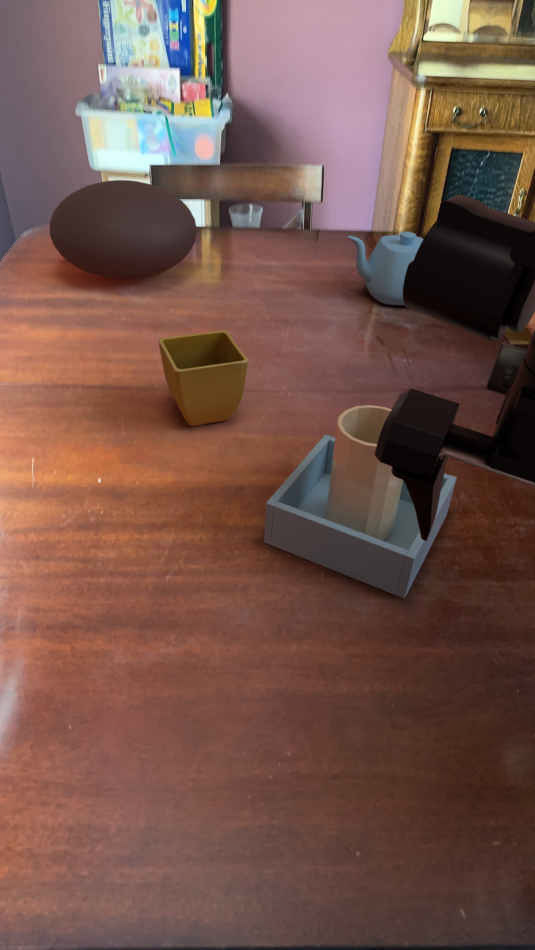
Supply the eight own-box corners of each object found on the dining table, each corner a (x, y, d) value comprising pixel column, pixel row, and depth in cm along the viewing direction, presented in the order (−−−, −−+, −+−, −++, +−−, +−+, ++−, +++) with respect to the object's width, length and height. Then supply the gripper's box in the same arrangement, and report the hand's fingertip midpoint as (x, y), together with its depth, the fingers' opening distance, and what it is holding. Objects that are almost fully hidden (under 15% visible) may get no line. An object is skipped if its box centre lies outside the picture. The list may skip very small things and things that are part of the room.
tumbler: (401, 543, 67) (424, 443, 59) (335, 550, 65) (350, 449, 58) (379, 499, 72) (397, 403, 64) (317, 505, 71) (329, 407, 63)
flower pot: (161, 401, 87) (157, 337, 81) (225, 391, 89) (226, 328, 84) (178, 438, 80) (175, 371, 75) (247, 426, 83) (249, 361, 77)
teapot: (340, 221, 115) (441, 221, 118) (334, 281, 122) (430, 281, 124) (356, 246, 105) (467, 246, 108) (349, 310, 112) (453, 309, 114)
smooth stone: (46, 255, 126) (32, 169, 117) (175, 243, 134) (172, 162, 125) (69, 306, 108) (55, 211, 99) (216, 289, 117) (216, 199, 108)
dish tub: (446, 515, 71) (457, 476, 68) (404, 599, 61) (414, 558, 58) (320, 471, 76) (325, 434, 73) (263, 542, 67) (266, 502, 64)
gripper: (741, 357, 41) (627, 536, 51) (444, 277, 46) (393, 455, 56) (764, 454, 33) (623, 644, 43) (401, 345, 38) (350, 539, 48)
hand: (488, 559), depth 48 cm, fingers open, 9 cm apart
